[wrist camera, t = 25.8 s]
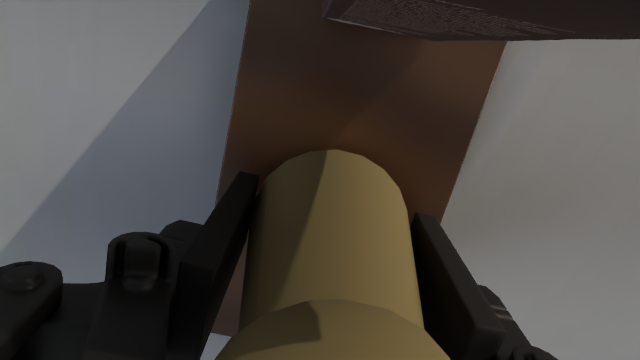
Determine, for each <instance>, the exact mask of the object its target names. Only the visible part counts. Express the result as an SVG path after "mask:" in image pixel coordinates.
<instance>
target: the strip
mask: <svg viewBox="0 0 640 360" xmlns="http://www.w3.org/2000/svg"><path fill="white" fill-rule="evenodd" d="M322 1H323V0H250V5H249V11H248V17H247V23H246V29H245V35H244V40H243V46H242V52H241V58H240V64H239V69H238V75H237V81H236V87H235V93H234V99H233V104H232V110H231V116H230V122H229V128H228V133H227V139H226V145H225V151H224V157H223V163H222V168H221V174H220V180H219V186H218V192H217V197H216V203H215V207H216V206H217V204H218V203H219V201H220V200H221V198H222V197H223V195H224V194H225V192H226V190H227V189H228V187H229V186H230V184H231V183H232V181H233V180H234V178H235V177H236V175H237V174H238V172H239V171H243V172H247V173H251V174H256V175H260V177H259V182H258V187H257V192H258V191H259V189H260V187H261V186H262V184H263V183H264V181H265V180H266V178H267V176H268V175H269V174H271V173H272V172H273V171H274V170H276V169H277V168H278V167H279V166H281V165H282V164H283V163H284V162H286V161H287V160H289V159H291V158H294V157H297V156H299V155H302V154H305V153H307V152H310V151H319V150H337V149H338V150H341V151H345V152H349V153H353V154H357V155H361V156H364V157H365V158H367V159H368V160H370V161H372V162H373V163H375V164H376V165H378V166H379V167H381V168H383V169H384V170H385V171H386V172H387V174H388V175H389V176H390V177H391V179H392V180H393V181H394V182H395V184H396V185H397V186H398V187H399V189H400V191H401V194H402V197H403V200H404V203H405V206H406V208H407V212H408V219H409V226H411V223H412V220H413V217H414V214H415V212H420V213H424V214H428V215H433V216H435V217H436V219H437V221H438V222H439V224H440V223H441V220H442V218H443V215H444V212H445V209H446V207H447V204H448V201H449V199H450V196H451V193H452V191H453V188H454V185H455V182H456V180H457V177H458V174H459V172H460V169H461V166H462V164H463V161H464V158H465V155H466V153H467V150H468V147H469V145H470V142H471V139H472V137H473V134H474V131H475V128H476V126H477V123H478V120H479V118H480V115H481V112H482V110H483V107H484V104H485V101H486V99H487V96H488V93H489V91H490V88H491V85H492V82H493V80H494V77H495V74H496V72H497V69H498V66H499V64H500V61H501V58H502V55H503V53H504V50H505V47H506V45H507V42H508V41H490V40H477V41H431V40H427V39H422V38H418V37H414V36H410V35H404V34H399V33H394V32H390V31H386V30H378V29H372V28H368V27H364V26H359V25H355V24H348V23H341V22H339V21H335V20H331V19H328V18H323V17H322V16H321V7H322ZM257 192H256V194H257ZM248 234H249V231H248ZM247 243H248V236H247V240H246V243H245V246H244V248H243V251H242V253H241V256H240V258H239V261H238V263H237V266H236V268H235V271H234V274H233V276H232V279H231V281H230V284H229V286H228V289H227V291H226V294H225V296H224V299H223V302H222V304H221V307H220V309H219V312H218V314H217V317H216V319H215V322H214V324H213V327H212V330H211V333H216V334H221V335H226V336H231V337H233V336H234V335H236V334H237V333H238V327H239V318H240V308H241V299H242V290H243V280H244V271H245V262H246V252H247Z"/></svg>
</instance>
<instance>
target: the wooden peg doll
mask: <svg viewBox="0 0 640 360" xmlns="http://www.w3.org/2000/svg"><path fill="white" fill-rule="evenodd" d="M215 360H451V359H450V358H449V357H448V356H447V354H446V353H445V352H444V351H443V350H442V349H441V348H440V347H439V345H438V344H437V343H436V342H435V341H434V340H433V339H432V338H431V336H430V335H429V334H428V333H427V332H426V331H425V330H424V323H423V316H422V309H421V302H420V295H419V288H418V282H417V275H416V268H415V261H414V254H413V247H412V240H411V233H410V226H409V219H408V212H407V208H406V206H405V203H404V200H403V197H402V194H401V191H400V189H399V187H398V186H397V185H396V184H395V182H394V181H393V180H392V179H391V177H390V176H389V175H388V174H387V172H386V171H385V170H384V169H383V168H381V167H379V166H378V165H376V164H375V163H373V162H372V161H370V160H368V159H367V158H365V157H364V156H361V155H357V154H353V153H349V152H345V151H341V150H338V149H337V150H319V151H310V152H307V153H305V154H302V155H299V156H297V157H294V158H291V159H289V160H287V161H286V162H284V163H283V164H282V165H281V166H279V167H278V168H277V169H276V170H274V171H273V172H272V173H271V174H269V175H268V176H267V178H266V180H265V181H264V183H263V184H262V186H261V187H260V189H259V191H258V192H257V194H256V197H255V201H254V205H253V210H252V214H251V219H250V224H249V234H248V243H247V252H246V262H245V271H244V280H243V290H242V299H241V308H240V318H239V327H238V333H237V334H236V335H234V336H233V337H232V338H231V339H230V340H229V341H228V343H227V344H226V345H225V347H224V348H223V349H222V351H221V352H220V353H219V354H218V356H217V357H216V358H215Z"/></svg>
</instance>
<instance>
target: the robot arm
mask: <svg viewBox="0 0 640 360" xmlns="http://www.w3.org/2000/svg"><path fill="white" fill-rule="evenodd" d="M259 177H260V175H256V174H251V173H247V172H243V171H239V172H238V174H237V175H236V177H235V178H234V180H233V181H232V183H231V184H230V186H229V187H228V189H227V190H226V192H225V194H224V195H223V197H222V198H221V200H220V201H219V203H218V204H217V206H216V207H215V209H214V210H213V212H212V213H211V215H210V216H209V218H208V219H207V221H206V222H205V224H204V225H201V224H197V223H192V222H188V221H183V220H178V221H176V222H173V223H171V224H169V225H167V226H166V227H165V228H164V229H163V230H162V231H161V232H160V234H155V233H149V232H131V233H127V234H122V235H120V236H118V237H116V238H114V239H112V241H111V242H110V243H109V244H108V252H107V263H106V275H105V281H104V282H100V283H88V284H68V283H63V277H62V272H61V271H60V270H59V269H58V268H57V267H55V266H54V265H50V264H47V263H44V262H32V261H27V262H18V263H13V264H9V265H6V266H2V267H0V360H200V358H201V355H202V352H203V350H204V347H205V345H206V342H207V340H208V337H209V335H210V332H211V330H212V327H213V324H214V322H215V319H216V317H217V314H218V312H219V309H220V307H221V304H222V302H223V299H224V296H225V294H226V291H227V289H228V286H229V284H230V281H231V279H232V276H233V274H234V271H235V268H236V266H237V263H238V261H239V258H240V256H241V253H242V251H243V248H244V246H245V243H246V240H247V236H248V231H249V224H250V219H251V214H252V210H253V205H254V201H255V197H256V192H257V187H258V182H259ZM410 233H411V240H412V247H413V254H414V261H415V268H416V275H417V282H418V288H419V295H420V302H421V309H422V316H423V323H424V330H425V331H426V332H427V333H428V334H429V335H430V336H431V338H432V339H433V340H434V341H435V342H436V343H437V344H438V345H439V347H440V348H441V349H442V350H443V351H444V352H445V353H446V354H447V356H448V357H449V358H450V359H451V360H558V359H556V358H555V357H554V356H552V355H551V354H549V353H548V352H545V351H543V350H541V349H539V348H537V347H534V346H531V344H530V343H529V342H528V340H527V339H526V337H525V336H524V334H523V333H522V331H521V330H520V328H519V327H518V325H517V324H516V322H515V321H514V320H513V318H512V316H511V315H510V313H509V312H508V311H506V307H505V306H504V304H503V303H502V301H501V300H500V298H499V297H498V296H496V295H495V294H494V293H493V292H492V291H491V290H490V289H488V288H487V287H486V286H481V285H477V283H476V282H475V280H474V278H473V277H472V275H471V274H470V272H469V270H468V269H467V267H466V266H465V264H464V262H463V261H462V259H461V258H460V256H459V254H458V253H457V251H456V249H455V248H454V246H453V245H452V243H451V241H450V240H449V238H448V237H447V235H446V233H445V232H444V230H443V229H442V227H441V225H440V224H439V222H438V221H437V219H436V217H435V216H433V215H428V214H424V213H420V212H415V214H414V217H413V220H412V223H411V226H410ZM166 346H167V348H166Z"/></svg>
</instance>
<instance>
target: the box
mask: <svg viewBox="0 0 640 360" xmlns="http://www.w3.org/2000/svg"><path fill="white" fill-rule="evenodd" d="M321 16H322V17H323V18H328V19H331V20H335V21H339V22H341V23H348V24H355V25H359V26H364V27H368V28H372V29H378V30H386V31H390V32H394V33H399V34H404V35H410V36H414V37H418V38H422V39H427V40H431V41H477V40H490V41H522V40H563V39H640V0H323V1H322V7H321Z"/></svg>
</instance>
